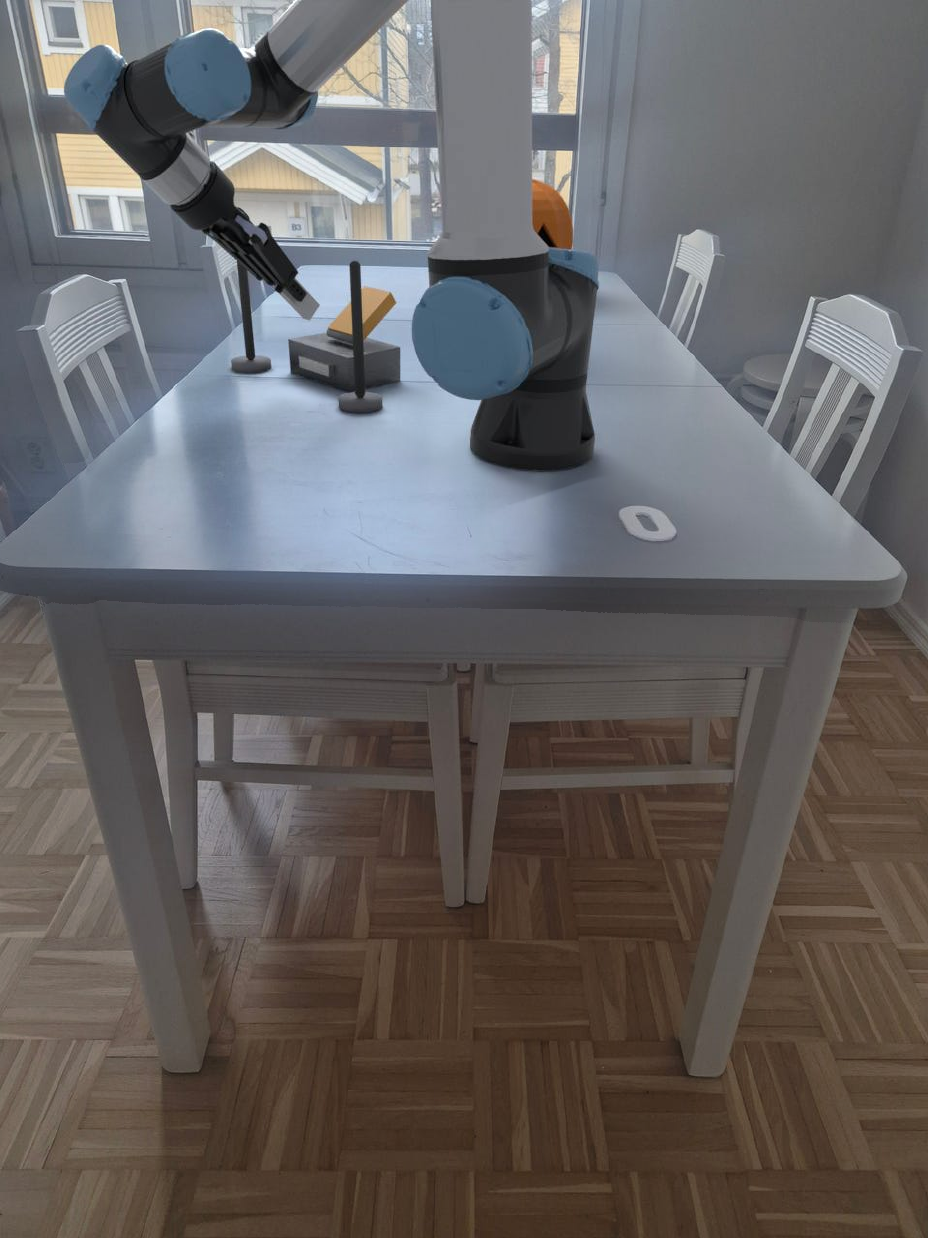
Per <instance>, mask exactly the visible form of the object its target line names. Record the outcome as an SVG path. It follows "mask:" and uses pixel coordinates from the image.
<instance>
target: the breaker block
mask: <svg viewBox="0 0 928 1238" xmlns="http://www.w3.org/2000/svg"><path fill="white" fill-rule="evenodd" d="M363 347H364V373H365V390H367V389H371V388H376V387H380V386H384V385H388V384H389V385H390V384H393V383H397V382H400V381H401V347H400V346H398V345H395V344H391V343H387V342H383V341H380V340H376V339H373V338H370V337H366V339H365V340H364V341H363ZM288 353H289V368H290V373H291V374H294V375H296V376H299V377H302V378H305V379H308V380H310V381H313V382H317V383H320V384H323V385H325V386H328V387H331V388H334V389H336V390H340V391H342V392H345V393H351V392H355V383H354V360H353V344H351V343H348V342H344V341H341V340H337V339H334V338H331V337H328V336H327V334H326V332H323V333H317V334H311V335H306V336H299V337H293V338H288Z"/></svg>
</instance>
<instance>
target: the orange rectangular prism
mask: <svg viewBox="0 0 928 1238" xmlns="http://www.w3.org/2000/svg"><path fill="white" fill-rule="evenodd" d="M361 293H362V320H363V341H364V340H365V339H366V338H368V336H369V335H370V334H371V333H372V332H373V331H374V329H375V328H377V326H378V325H379V323H381V321H382V320H383V319H384V318H385V317H386V316H387V315H388V314H389V312H390V311H391V310H392V309H393V308H394V306H395V305H396V304H397V301H396V299H395V298H394V295H393V293H392V292H391V291H388V290H384V289H380V288H379V289H378V288H374V287H370V286H365V285H364V286H363V287H361ZM325 333H326V334H327V336H328V337H331V338H334V339H337V340H341V341H344V342H348V343H351V344H353V337H352V314H351V301H349V303H348V304H347V305H346V306H345V308H344V309H343V310H341V312H340V313H339V314H338V315H337V316H336V317H335V318H334V319H333V321H332V322H331V323H330V324H329V325H328V327H327V329H326V331H325Z"/></svg>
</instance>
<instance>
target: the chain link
mask: <svg viewBox="0 0 928 1238" xmlns="http://www.w3.org/2000/svg"><path fill="white" fill-rule="evenodd" d="M636 514H646V515H648V516H649V517H650V518H651V520H652V521H653V523H654V524H655V525H656V526H657V528H658V529H659V530H657V531H653V530H652V531H651V530H648V529H645V527H644V526H643V525H642V523H641V521H640V520H639V518H638V517H637V516H636ZM649 517H648V518H649ZM619 518H620V519H621V520H620V519H619ZM650 518H649V519H650ZM618 519H619V520H620V522H621V521H622V522H621V524H622V523H623V524H624V525H623V524H622V525H623V527H624V526H625V527H624V528H626V529H627V530H628V531H630V533H633V534H634V535H636V536H639V537H643V538H649V539H656V540H657V539H666V538H670V537H672V536H674V535H675V534H677V529H676V527H675V526H674V524H672V522H671V521H670V519H669V518H668V517H667V514H665V512H663V511H661V510H659V509H658V508H653V507H651V506H645V505H630V506H625V507H623V508H621V509H620V510H619V511H618ZM651 520H650V521H651ZM652 521H651V522H652ZM653 523H652V524H653ZM654 524H653V525H654ZM657 528H656V529H657ZM626 529H625V530H626ZM627 530H626V531H627Z"/></svg>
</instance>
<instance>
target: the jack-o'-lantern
mask: <svg viewBox="0 0 928 1238" xmlns="http://www.w3.org/2000/svg"><path fill="white" fill-rule="evenodd" d="M532 225H533V229H534V231H535V232H536V233H537V234H538V236H539V237H540V238H541V239H542V240H543V241H544V242H545V243H546V244H547V246H548V247H549V248H559V249H569V250H573V244H574V227H573V226H574V225H573V219H572V215H571V212H570V210H569V207H568V204H567V203H566V202H565V200H564V198H563V196H562V195H561V194H560V193H559V192H558V191H557V190H556V189H555V188H553V187H551V186H550V185H548V184H547V183H545V182H542V181H540V180H537V179H535V178H532Z"/></svg>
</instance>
